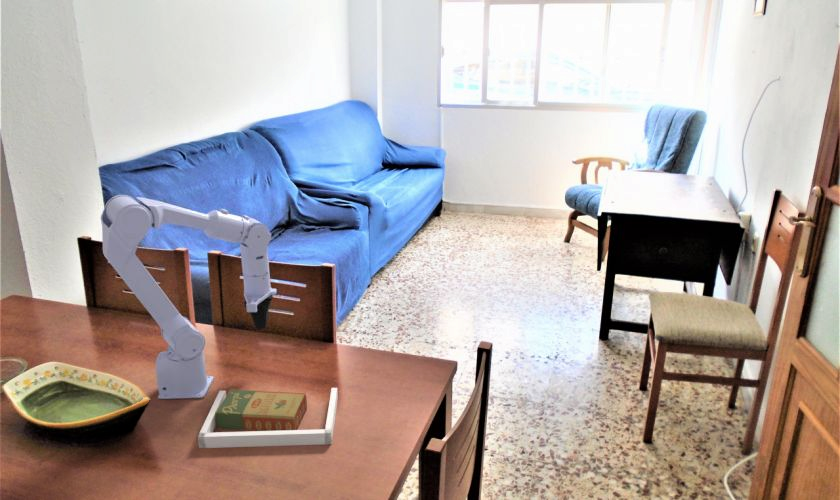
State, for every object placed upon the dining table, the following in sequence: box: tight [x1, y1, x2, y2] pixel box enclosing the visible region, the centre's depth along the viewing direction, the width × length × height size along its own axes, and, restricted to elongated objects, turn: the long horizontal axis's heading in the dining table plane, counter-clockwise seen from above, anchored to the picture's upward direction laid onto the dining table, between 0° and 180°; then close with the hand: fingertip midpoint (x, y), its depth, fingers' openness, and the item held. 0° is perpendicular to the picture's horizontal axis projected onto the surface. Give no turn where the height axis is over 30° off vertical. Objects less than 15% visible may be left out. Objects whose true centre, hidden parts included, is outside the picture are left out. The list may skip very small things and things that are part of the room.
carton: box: [215, 389, 308, 431], centre depth 117 cm, size 8×16×4 cm, turn 85°
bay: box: [197, 387, 339, 449], centre depth 116 cm, size 24×15×2 cm, turn 93°
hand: (261, 327), depth 134 cm, fingers closed
